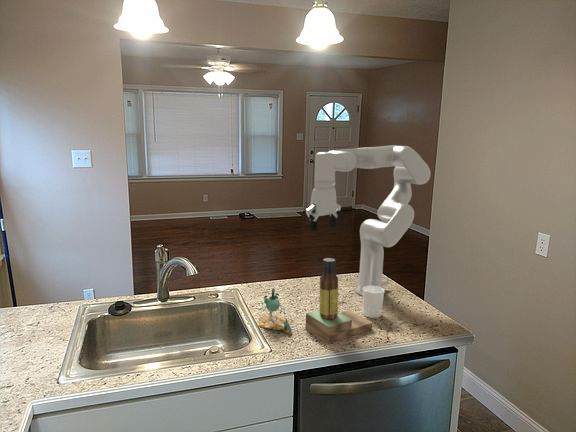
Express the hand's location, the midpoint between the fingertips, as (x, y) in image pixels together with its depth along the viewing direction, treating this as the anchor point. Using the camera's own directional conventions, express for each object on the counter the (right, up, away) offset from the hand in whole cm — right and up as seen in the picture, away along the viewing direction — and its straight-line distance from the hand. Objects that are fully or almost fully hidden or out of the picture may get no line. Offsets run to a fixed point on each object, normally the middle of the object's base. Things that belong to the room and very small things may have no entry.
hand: (323, 229), depth 165 cm
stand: (+4, -34, -17) cm, 38 cm away
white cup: (+18, -32, -4) cm, 37 cm away
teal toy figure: (-19, -34, -16) cm, 42 cm away
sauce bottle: (0, -29, -21) cm, 36 cm away
